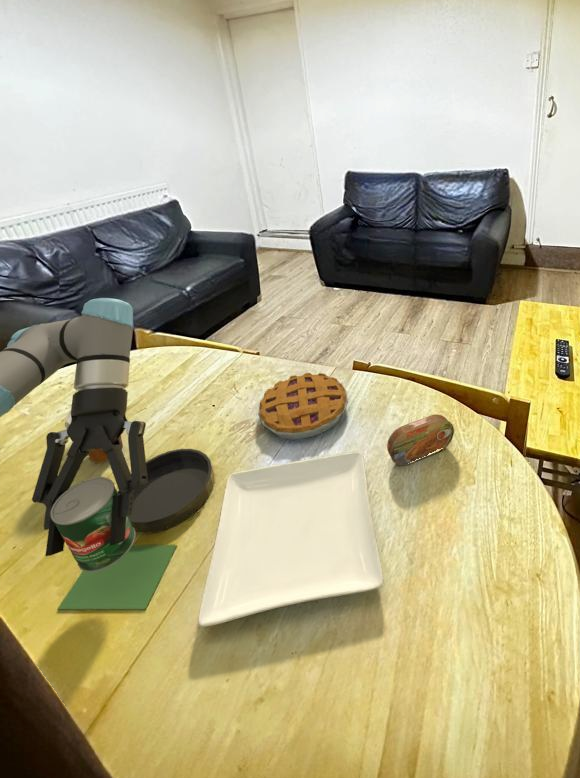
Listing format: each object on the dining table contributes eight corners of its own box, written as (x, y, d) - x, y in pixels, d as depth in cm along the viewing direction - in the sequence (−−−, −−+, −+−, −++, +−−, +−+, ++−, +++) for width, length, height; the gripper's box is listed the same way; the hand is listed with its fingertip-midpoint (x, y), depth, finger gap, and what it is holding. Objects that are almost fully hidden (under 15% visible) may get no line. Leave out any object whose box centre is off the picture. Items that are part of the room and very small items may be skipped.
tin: (392, 471, 85) (390, 440, 82) (386, 460, 88) (384, 430, 84) (454, 446, 90) (455, 416, 87) (446, 437, 93) (447, 407, 89)
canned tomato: (134, 515, 70) (113, 468, 66) (137, 553, 64) (115, 504, 59) (78, 540, 66) (52, 492, 62) (76, 584, 60) (47, 534, 56)
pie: (336, 376, 116) (334, 361, 113) (360, 428, 97) (358, 411, 95) (256, 397, 109) (253, 381, 107) (265, 456, 90) (261, 439, 88)
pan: (99, 533, 75) (94, 522, 74) (150, 459, 91) (146, 449, 90) (192, 533, 75) (188, 521, 73) (227, 458, 90) (224, 447, 89)
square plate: (363, 461, 88) (361, 447, 86) (385, 600, 63) (384, 584, 61) (231, 484, 84) (227, 470, 82) (200, 641, 59) (194, 625, 58)
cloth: (57, 610, 64) (57, 608, 64) (99, 546, 73) (99, 545, 73) (145, 609, 63) (145, 608, 63) (177, 546, 72) (176, 544, 72)
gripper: (175, 385, 73) (170, 531, 65) (49, 401, 70) (27, 555, 62) (157, 378, 66) (149, 541, 58) (15, 396, 63) (-13, 568, 55)
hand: (86, 548), depth 60 cm, fingers closed on canned tomato, 8 cm apart
